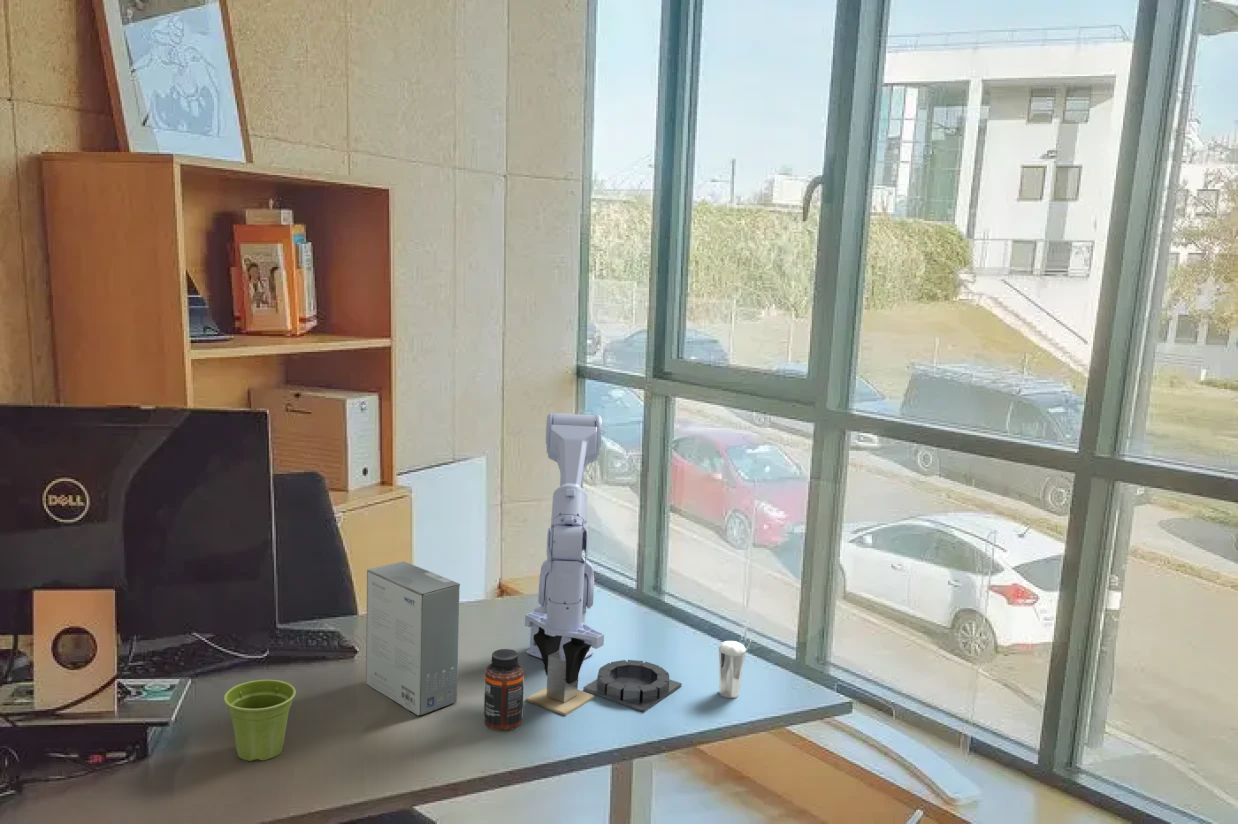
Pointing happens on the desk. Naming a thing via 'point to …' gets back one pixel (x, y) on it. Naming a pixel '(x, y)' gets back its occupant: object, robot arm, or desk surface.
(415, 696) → the hard drive box
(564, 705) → the cork pad
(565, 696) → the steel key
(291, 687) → the plant pot
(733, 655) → the milkshake
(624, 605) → the desk surface
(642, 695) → the dark grey collar
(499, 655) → the supplement bottle
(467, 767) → the desk surface
